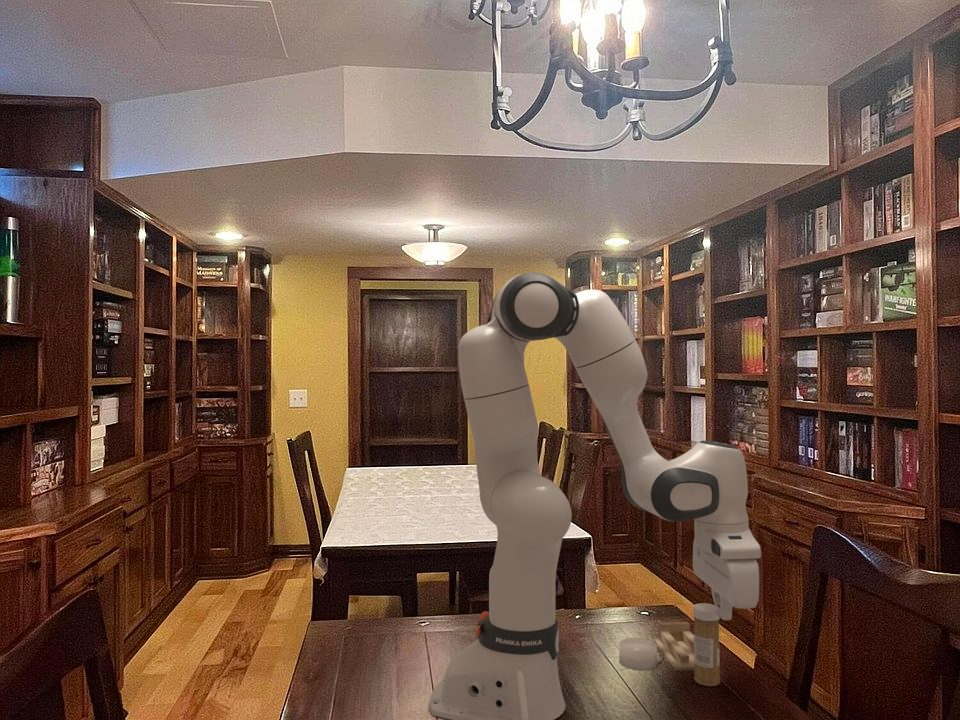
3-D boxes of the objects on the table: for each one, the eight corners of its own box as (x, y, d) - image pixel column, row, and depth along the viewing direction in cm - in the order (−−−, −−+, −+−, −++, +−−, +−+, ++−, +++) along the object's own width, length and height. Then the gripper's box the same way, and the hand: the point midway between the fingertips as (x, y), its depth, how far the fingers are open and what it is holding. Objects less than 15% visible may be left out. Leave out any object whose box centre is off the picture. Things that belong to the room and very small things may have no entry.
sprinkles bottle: (725, 683, 128) (725, 607, 128) (708, 689, 126) (708, 612, 126) (704, 674, 132) (704, 600, 132) (688, 680, 129) (687, 605, 130)
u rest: (718, 669, 134) (718, 647, 134) (675, 670, 134) (675, 648, 134) (692, 641, 148) (692, 621, 148) (653, 641, 148) (653, 622, 148)
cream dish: (619, 669, 134) (619, 650, 134) (619, 654, 141) (619, 636, 141) (657, 672, 133) (657, 653, 133) (656, 657, 140) (656, 639, 140)
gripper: (682, 523, 133) (684, 598, 133) (726, 552, 112) (728, 640, 112) (716, 522, 133) (718, 596, 133) (766, 550, 113) (768, 638, 113)
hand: (723, 617), depth 123 cm, fingers closed
